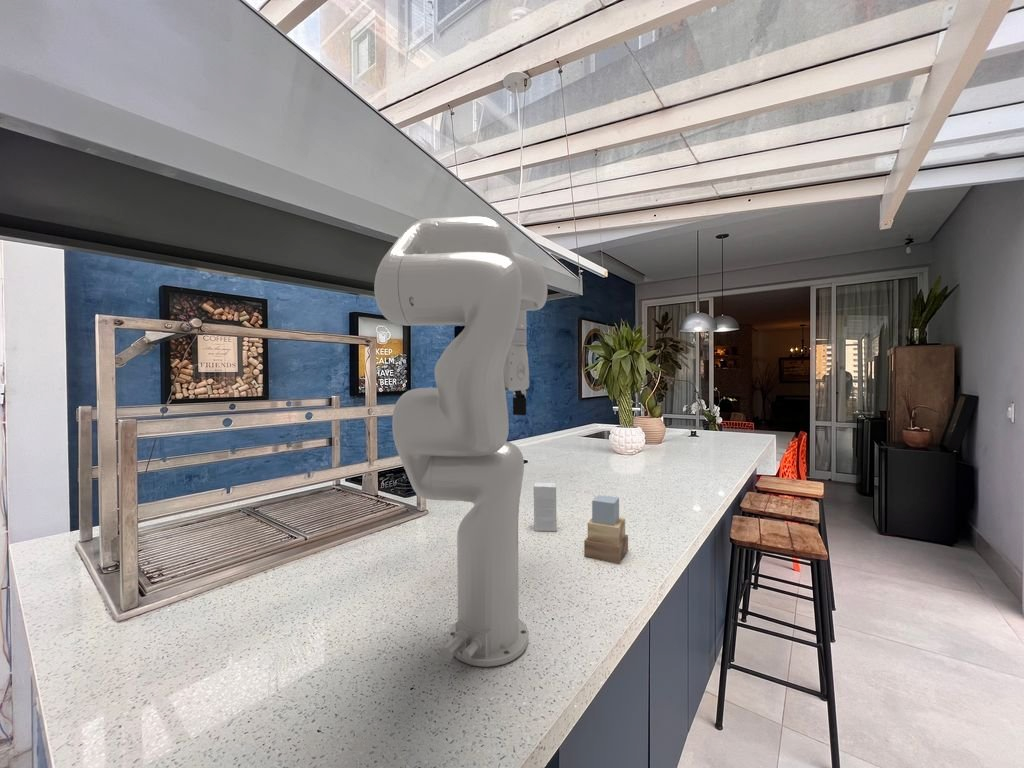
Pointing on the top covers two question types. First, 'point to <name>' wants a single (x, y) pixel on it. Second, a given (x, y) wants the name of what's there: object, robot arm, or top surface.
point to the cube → (605, 510)
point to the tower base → (606, 550)
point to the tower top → (607, 532)
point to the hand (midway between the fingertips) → (509, 416)
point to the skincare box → (545, 507)
